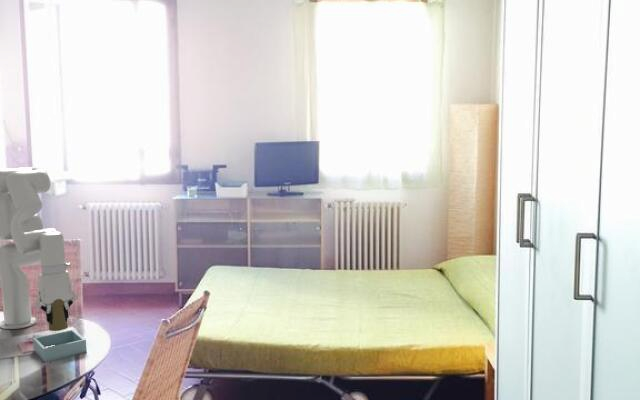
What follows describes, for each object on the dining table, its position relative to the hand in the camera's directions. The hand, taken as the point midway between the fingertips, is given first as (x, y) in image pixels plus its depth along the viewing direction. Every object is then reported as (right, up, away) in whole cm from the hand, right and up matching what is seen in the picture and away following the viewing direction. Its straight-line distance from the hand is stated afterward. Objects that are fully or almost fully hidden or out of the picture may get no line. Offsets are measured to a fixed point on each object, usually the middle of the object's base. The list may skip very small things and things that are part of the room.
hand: (57, 321), depth 225 cm
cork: (0, -2, 0) cm, 2 cm away
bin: (0, -11, +2) cm, 11 cm away
